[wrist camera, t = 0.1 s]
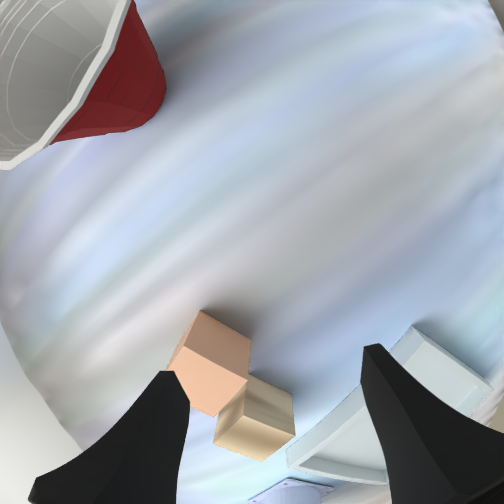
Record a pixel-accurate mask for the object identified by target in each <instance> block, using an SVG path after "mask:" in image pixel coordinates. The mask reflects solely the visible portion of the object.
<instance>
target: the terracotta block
mask: <svg viewBox="0 0 504 504" xmlns="http://www.w3.org/2000/svg"><path fill="white" fill-rule="evenodd" d="M250 349H251V339H249V338H247V337H245V336H243V335H242V334H240V333H238V332H236V331H234V330H233V329H231V328H229V327H227V326H226V325H224V324H222V323H221V322H219V321H217V320H215V319H214V318H212V317H210V316H209V315H207V314H205V313H204V312H202V311H199V312H198V314H197V316H196V317H195V319H194V320H193V322H192V324H191V325H190V327H189V328H188V330H187V332H186V333H185V335H184V336H183V338H182V340H181V341H180V343H179V344H178V346H177V348H176V349H175V351H174V353H173V355H172V357H171V359H170V361H169V363H168V365H167V367H166V369H165V371H174V372H175V374H176V376H177V378H178V380H179V382H180V384H181V386H182V387H183V389H184V391H185V393H186V395H187V397H188V399H189V400H190V406H191V407H193V408H195V409H197V410H199V411H201V412H203V413H205V414H207V415H209V416H211V417H215V416H216V415H217V414H218V413H219V412H220V411H221V409H222V408H223V407H224V406H225V405H226V404H227V403H228V402H229V401H230V400H231V399H232V398H233V396H234V395H235V394H236V393H237V392H238V391H239V390H240V389H241V387H242V386H243V385H244V384H245V383H246V382H247V381H248V373H249V361H250Z"/></svg>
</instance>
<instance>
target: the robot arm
mask: <svg viewBox="0 0 504 504" xmlns="http://www.w3.org/2000/svg"><path fill="white" fill-rule="evenodd" d="M360 382H361V387H362V391H363V395H364V399H365V403H366V406H367V409H368V412H369V414H370V417H371V420H372V423H373V425H374V428H375V431H376V434H377V436H378V439H379V442H380V445H381V448H382V451H383V454H384V458H385V463H386V468H387V473H388V478H389V484H390V491H391V498H392V504H504V433H501V432H498V431H496V430H493V429H491V428H488V427H486V426H484V425H482V424H480V423H478V422H476V421H474V420H472V419H470V418H468V417H467V416H465V415H463V414H461V413H460V412H458V411H457V410H455V409H453V408H452V407H450V406H449V405H448V404H446V403H445V402H443V401H442V400H440V399H439V398H438V397H437V396H435V395H434V394H433V393H432V392H430V391H429V390H428V389H427V388H425V387H424V386H423V385H422V384H421V383H420V382H418V381H417V380H416V379H415V378H414V377H413V376H412V375H411V374H410V373H409V372H408V371H407V370H406V369H405V368H403V367H402V366H401V365H400V364H399V363H398V362H397V361H396V360H395V359H394V358H393V356H392V355H391V354H390V353H389V352H388V351H387V350H386V349H385V348H384V347H383V346H382V345H381V344H380V343H377V344H373V345H369V346H364V350H363V361H362V371H361V380H360ZM189 414H190V400H189V399H188V397H187V395H186V393H185V391H184V389H183V387H182V386H181V384H180V382H179V380H178V378H177V376H176V374H175V372H174V371H159V373H158V374H157V375H156V376H155V377H154V379H153V380H152V381H151V383H150V384H149V385H148V386H147V388H146V389H145V390H144V391H143V393H142V394H141V395H140V396H139V398H138V399H137V400H136V401H135V402H134V404H133V405H132V406H131V407H130V408H129V410H128V411H127V412H126V413H125V414H124V415H123V416H122V417H121V418H120V419H119V421H118V422H117V423H116V424H115V425H114V426H113V427H112V428H111V429H110V430H109V431H108V432H107V433H106V434H105V435H104V436H103V437H101V438H100V439H99V440H98V441H97V442H96V443H95V444H93V445H92V446H91V447H89V448H88V449H87V450H85V451H84V452H83V453H81V454H80V455H79V456H77V457H76V458H74V459H72V460H71V461H69V462H68V463H66V464H64V465H62V466H61V467H59V468H57V469H55V470H53V471H51V472H48V473H46V474H44V475H42V476H39V477H37V478H36V480H35V482H34V485H33V487H32V489H31V492H30V495H29V497H28V501H29V502H30V503H32V504H176V491H177V478H178V471H179V466H180V461H181V456H182V452H183V447H184V443H185V438H186V434H187V429H188V424H189ZM332 491H334V488H333V487H328V486H322V485H317V484H312V483H307V482H302V481H298V480H294V479H285V480H283V481H282V482H280V483H278V484H277V485H275V486H273V487H272V488H270V489H268V490H266V491H265V492H263V493H261V494H259V495H257V496H256V497H254V498H252V499H250V500H248V501H247V503H248V504H322V503H321V497H323V496H325V495H327V494H329V493H330V492H332Z"/></svg>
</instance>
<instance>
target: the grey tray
mask: <svg viewBox="0 0 504 504" xmlns="http://www.w3.org/2000/svg"><path fill="white" fill-rule="evenodd" d="M389 353H390V354H391V355H392V356H393V358H394V359H395V360H396V361H397V362H398V363H399V364H400V365H401V366H402V367H403V368H405V369H406V370H407V371H408V372H409V373H410V374H411V375H412V376H413V377H414V378H415V379H416V380H417V381H418V382H420V383H421V384H422V385H423V386H424V387H425V388H427V389H428V390H429V391H430V392H432V393H433V394H434V395H435V396H437V397H438V398H439V399H440V400H442V401H443V402H445V403H446V404H448V405H449V406H450V407H452V408H453V409H455V410H457V411H458V412H460V413H461V414H463V415H465V416H467V417H468V418H469V417H470V415H471V414H472V413H473V412H474V411H475V410H476V409H477V408H478V407H479V406H480V405H481V404H482V403H483V401H484V400H485V399H486V398H487V397H488V396H489V395H490V393H491V392H492V391H493V390H494V389H493V388H492V387H491V386H490V385H489V384H488V382H487V381H486V380H485V379H484V378H483V377H482V376H480V375H479V374H478V373H476V372H475V371H474V370H472V369H471V368H470V367H468V366H467V365H466V364H464V363H463V362H462V361H460V360H459V359H458V358H456V357H455V356H453V355H452V354H451V353H449V352H448V351H447V350H445V349H444V348H442V347H441V346H440V345H438V344H437V343H436V342H434V341H433V340H431V339H430V338H429V337H427V336H426V335H424V334H423V333H422V332H420V331H419V330H417V329H416V328H414V327H413V326H411V327H410V328H409V329H408V331H407V332H406V333H405V334H404V336H403V337H402V338H401V339H400V341H399V342H398V343H397V344H396V345H395V346H394V348H393V349H392V350H391V351H390V352H389ZM286 464H287V468H290V469H294V470H298V471H302V472H306V473H310V474H315V475H319V476H324V477H329V478H334V479H339V480H345V481H351V482H358V483H365V484H373V485H382V486H386V485H387V484H389V478H388V473H387V468H386V463H385V458H384V454H383V451H382V448H381V445H380V442H379V439H378V436H377V434H376V431H375V428H374V425H373V423H372V420H371V417H370V414H369V412H368V409H367V406H366V403H365V399H364V395H363V391H362V387H361V384H360V385H359V386H358V387H357V388H356V389H355V390H354V391H353V392H352V393H351V394H350V395H349V396H348V397H347V398H346V399H345V400H344V401H342V402H341V403H340V404H339V405H338V406H337V407H336V408H335V409H334V410H333V411H332V412H331V413H329V414H328V415H327V416H326V417H325V418H324V419H323V420H322V421H320V422H319V423H318V424H317V425H316V426H315V427H313V428H312V429H311V430H310V431H309V432H307V433H306V434H305V435H304V436H303V437H301V438H300V439H299V440H298V441H296V442H295V443H294V444H293V445H291V446H290V447H289V448H287V449H286Z"/></svg>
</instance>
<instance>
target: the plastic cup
mask: <svg viewBox="0 0 504 504" xmlns="http://www.w3.org/2000/svg"><path fill="white" fill-rule="evenodd" d="M165 90H166V84H165V77H164V71H163V69H162V67H161V65H160V63H159V61H158V57H157V53H156V50H155V48H154V46H153V44H152V42H151V40H150V38H149V36H148V33H147V31H146V29H145V27H144V25H143V23H142V21H141V19H140V16H139V14H138V12H137V9H136V4H135V2H134V0H4V1H3V2H2V4H1V5H0V169H3V170H11V169H13V168H14V167H16V166H18V165H19V164H21V163H22V162H24V161H25V160H27V159H28V158H30V157H31V156H33V155H35V154H36V153H38V152H40V151H41V150H43V149H45V148H46V147H48V146H49V145H52V144H53V143H55V142H59V141H65V140H71V139H77V138H84V137H91V136H98V135H105V134H108V133H117V132H126V131H128V130H131V129H134V128H137V127H140V126H142V125H143V124H144V123H146V122H147V121H148V120H149V119H151V118H152V117H153V116H154V115H155V113H156V112H157V110H158V109H159V107H160V106H161V104H162V102H163V98H164V94H165Z"/></svg>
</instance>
